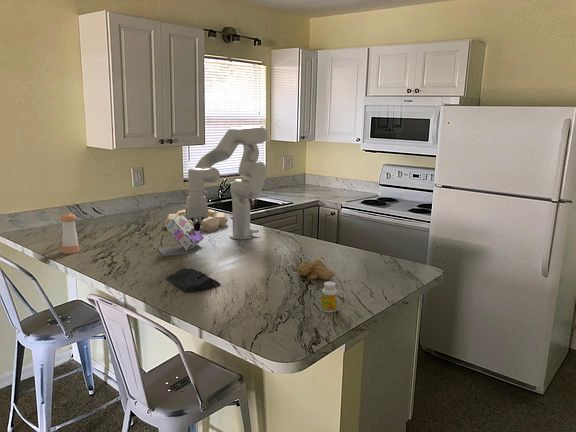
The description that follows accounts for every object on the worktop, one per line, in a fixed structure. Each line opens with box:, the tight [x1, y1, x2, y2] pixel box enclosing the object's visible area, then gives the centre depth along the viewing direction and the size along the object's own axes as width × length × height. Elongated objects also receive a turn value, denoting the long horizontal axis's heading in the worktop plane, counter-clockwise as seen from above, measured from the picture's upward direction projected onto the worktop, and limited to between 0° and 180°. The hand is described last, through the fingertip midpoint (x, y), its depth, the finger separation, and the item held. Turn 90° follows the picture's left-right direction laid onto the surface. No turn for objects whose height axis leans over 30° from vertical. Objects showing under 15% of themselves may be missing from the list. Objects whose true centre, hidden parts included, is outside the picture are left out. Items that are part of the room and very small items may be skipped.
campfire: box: [164, 207, 229, 233], centre depth 285 cm, size 35×34×17 cm
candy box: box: [163, 215, 205, 251], centre depth 240 cm, size 14×6×16 cm
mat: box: [157, 245, 193, 257], centre depth 235 cm, size 14×14×1 cm
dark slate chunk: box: [165, 268, 221, 294], centre depth 193 cm, size 15×22×5 cm
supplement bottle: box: [320, 281, 338, 313], centre depth 167 cm, size 5×5×10 cm
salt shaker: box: [59, 212, 80, 255], centre depth 230 cm, size 7×7×19 cm
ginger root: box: [293, 258, 335, 281], centre depth 201 cm, size 16×16×8 cm
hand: (197, 230), depth 238 cm, fingers closed
